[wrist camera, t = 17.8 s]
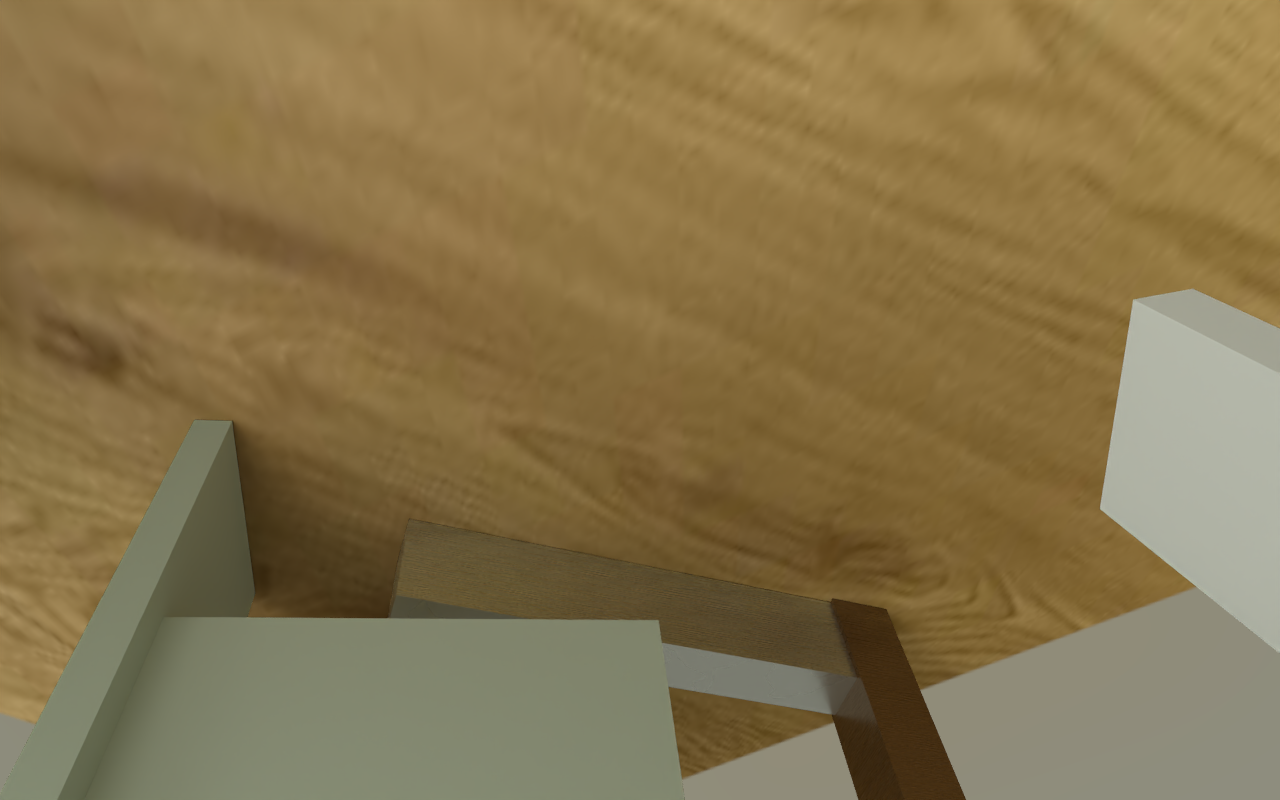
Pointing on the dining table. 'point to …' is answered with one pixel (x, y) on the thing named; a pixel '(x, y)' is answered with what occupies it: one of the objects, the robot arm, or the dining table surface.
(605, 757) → the green cabinet
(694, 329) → the dining table surface
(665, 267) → the dining table surface
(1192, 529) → the robot arm
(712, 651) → the l-shaped try square
